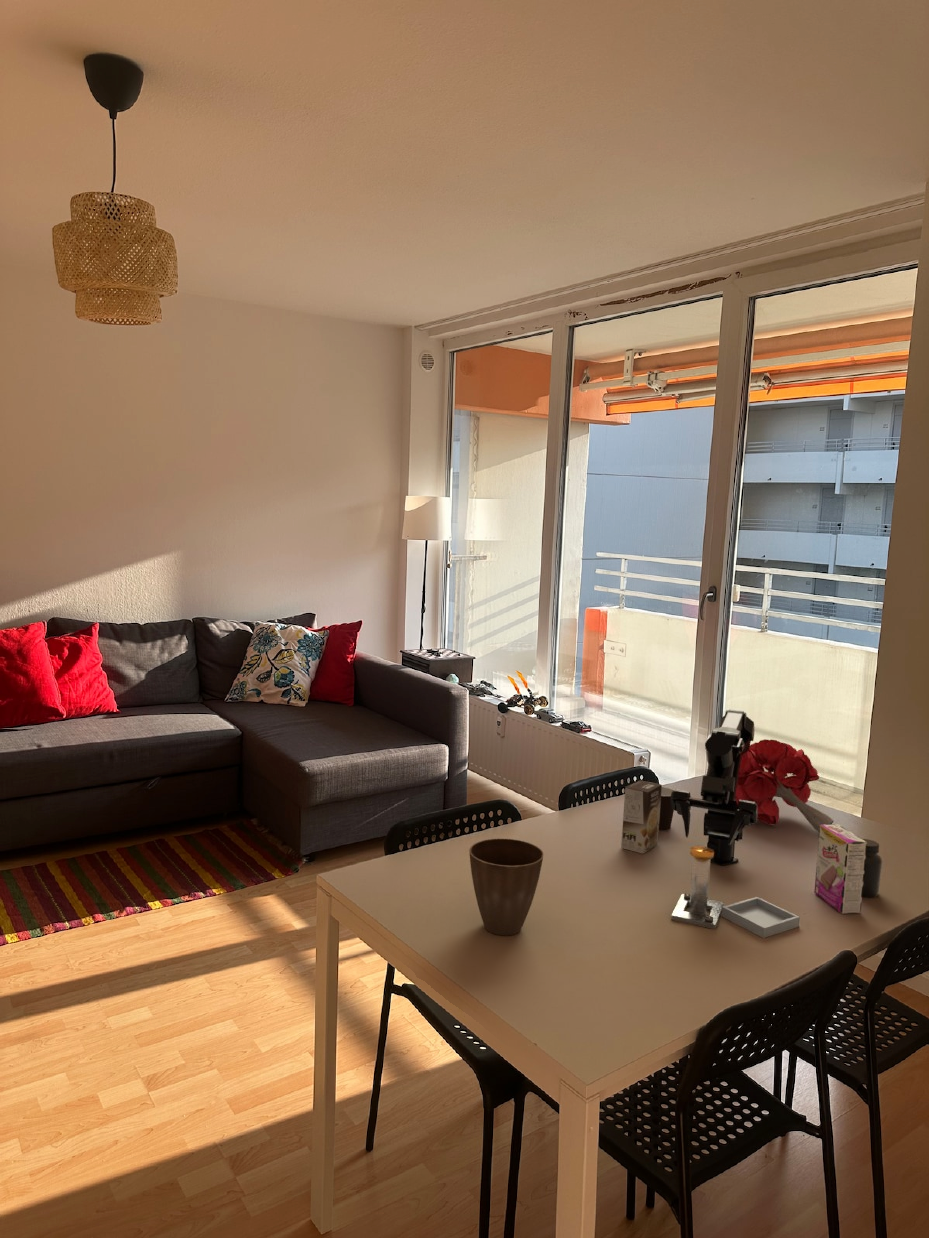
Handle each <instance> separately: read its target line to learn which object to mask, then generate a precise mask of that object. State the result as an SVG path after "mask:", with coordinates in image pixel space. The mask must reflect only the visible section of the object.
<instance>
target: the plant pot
mask: <svg viewBox="0 0 929 1238" xmlns="http://www.w3.org/2000/svg"><path fill="white" fill-rule="evenodd" d="M468 852H469V863H470V870H471V879H472V885H473V889H474V894H475V899H476V902H477V907H478V910H479V914H480V916H481V920H482V922H483V926H484V929H485V930H486V931H487V932H489V933H491V934H494V935H497V936H513V935H516V934H518V933H519V932H521V930H522V928H523V926H524V924H525V922H526V919H527V916H528V914H529V912H530V910H531V906H532V903H533V900H534V897H535V894H536V890H537V888H538V887H537V886H538V883H539V880H540V875H541V870H542V865H543V860H544V855H545V854H544V852H543V850H542V849H541V848H540V847H538V846H537V845H535V844H533V843H530V842H527V841H525V840H520V839H519V840H518V839H512V838H490V839H483V840H480V841H478V842H475V843H473V844H472V845H471V846H470V847H469V850H468Z"/></svg>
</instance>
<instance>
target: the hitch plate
mask: <svg viewBox="0 0 929 1238" xmlns="http://www.w3.org/2000/svg"><path fill="white" fill-rule="evenodd" d="M689 906H690V893H681V895H680V897H679V899H678V901H677V903H676V906H675V907H674V910H673V911H672V913H671V917H670V920H671V921H675V922H679V923H685V924H690V925H694V926H698V927H704V928H707V929H713V930H716V928H717V925H718V922H719V919H720V918H721V917H720V916H722V907H724V906H725V905H724V902H723V901H719V900H714V899H709V898H708V900H707V911H710V913H709V915H706V916H705V915H700V914H695V913H691V912H689V911H686V910H687V907H689Z"/></svg>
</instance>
